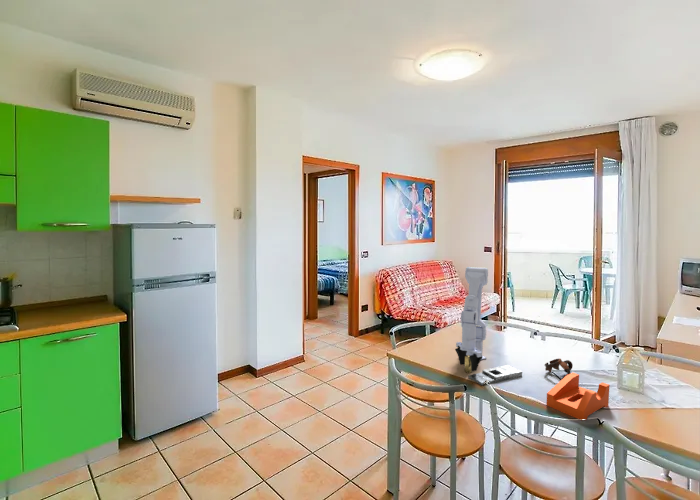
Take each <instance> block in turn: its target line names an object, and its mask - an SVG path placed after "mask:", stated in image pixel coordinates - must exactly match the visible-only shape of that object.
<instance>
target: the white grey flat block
mask: <svg viewBox="0 0 700 500" xmlns="http://www.w3.org/2000/svg"><path fill="white" fill-rule="evenodd" d="M522 376H523V370H520V369H518V368H515V367H513V366H511V365H510V364H505V365H500V366H495V367H492V368H491V367H490V368H486V369H482V372H478V373H473V374H469V375H468V377H469V378H468V379H470V380H472V381H473V380H474V382H475V381H476V383H477V382H478V383H477V384H479V385H480V386H484V385H483V384H484V382H485V381H486V380H488V381H489V382H490V384H494V383H499V382H502V381H507V380H510V379H515V378H520V377H522Z"/></svg>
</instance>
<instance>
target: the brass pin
mask: <svg viewBox="0 0 700 500" xmlns="http://www.w3.org/2000/svg"><path fill="white" fill-rule="evenodd" d="M469 356H470V355H465V364H464V373H466V372H467V373H466V374H471V373H472V372H473V371H472V370H471V360H470V357H469Z"/></svg>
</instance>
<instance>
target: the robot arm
mask: <svg viewBox="0 0 700 500" xmlns="http://www.w3.org/2000/svg"><path fill="white" fill-rule="evenodd" d="M464 271H465V274H464V276H465V277H464V278H465V279H466V283H467V284H468V295H467V296H465V298H464V304H463V310H461V315H460V322H461V325H460V326H461V328H462V329H461V341H457V342H455V347H456V348H455V349H454V350H455V352H456V354H457V357H458V360H459V365H461V366H462V365H465V355H470V356H469V357H470V360H471V370H472V372H475V371H477V370H478V367H479V364H480V362H481V360H486V359H487V356H484V355H483V351H484V350H483V349H484V348H483V347H484V346H483V345H484V344H483V343H484V341H485V340H486V339H487V324H486V323H485V322H484V321H483V320H482V319H481V317H482V316H481V315H482V299H483V298H482V295H483V294H482V293H483V288H484V286H486V285H487V284H488V282H489V281H488V280H489V279H488V277H489V269H488V268H487V267H476V266H475V267H471V266H466V268H465V270H464Z"/></svg>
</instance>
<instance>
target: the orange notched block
mask: <svg viewBox="0 0 700 500" xmlns="http://www.w3.org/2000/svg"><path fill="white" fill-rule="evenodd" d="M609 397H610V384H608V383H605V382H601V383H599V384H598V388H597V392H596V391H594V390H591V389H587V388H584V387H581V386H580V374H578V373H576V372H571V374H569V375H567V376H565V377H563V378H562V379H561V380H560V381H559V382H558V383H557V384H556V385H554V386H553V387H552V388H551V389H550V390H548V392H546V403H545V405H546V406H547V407H549V408H552V409H554V410H556V411H559V412H561V413H563V414H566V415H569V416H571V417H574V418H575V419H578V420H580V419H586V420H588V417H589V416H590V415H592V414H594V413H595V412H596V411H598V410H600V409H601V408H604V409H605V408H607V407H609V399H610V398H609Z"/></svg>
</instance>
